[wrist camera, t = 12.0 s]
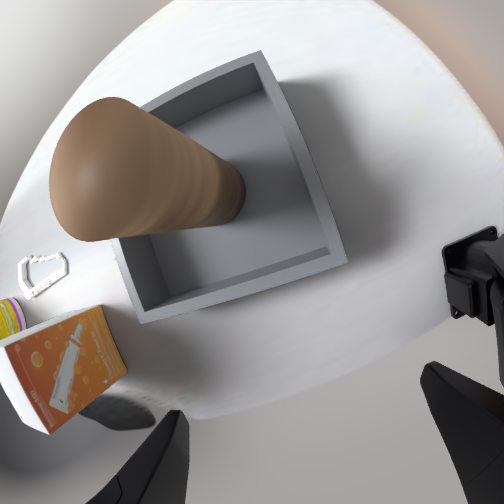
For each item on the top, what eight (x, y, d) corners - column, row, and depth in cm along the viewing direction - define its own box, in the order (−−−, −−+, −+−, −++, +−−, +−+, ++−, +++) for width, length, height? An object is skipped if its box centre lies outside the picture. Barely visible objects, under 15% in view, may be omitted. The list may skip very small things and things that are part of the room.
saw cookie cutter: (63, 230, 26) (53, 231, 24) (76, 270, 26) (66, 272, 25) (19, 268, 28) (11, 270, 27) (29, 300, 29) (21, 303, 27)
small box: (129, 371, 25) (51, 437, 13) (94, 372, 27) (22, 423, 14) (101, 302, 25) (2, 345, 12) (69, 310, 26) (-17, 346, 13)
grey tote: (270, 82, 19) (260, 50, 14) (338, 252, 20) (348, 262, 15) (123, 153, 22) (88, 143, 17) (171, 304, 23) (140, 324, 18)
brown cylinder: (233, 150, 20) (134, 71, 7) (255, 212, 20) (169, 205, 7) (176, 176, 21) (44, 144, 8) (195, 235, 21) (64, 260, 8)
